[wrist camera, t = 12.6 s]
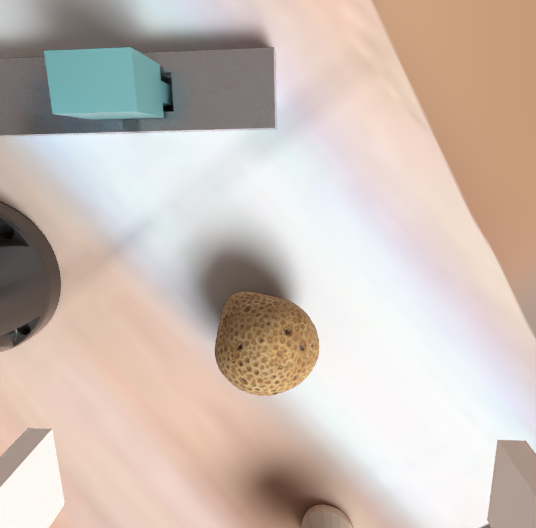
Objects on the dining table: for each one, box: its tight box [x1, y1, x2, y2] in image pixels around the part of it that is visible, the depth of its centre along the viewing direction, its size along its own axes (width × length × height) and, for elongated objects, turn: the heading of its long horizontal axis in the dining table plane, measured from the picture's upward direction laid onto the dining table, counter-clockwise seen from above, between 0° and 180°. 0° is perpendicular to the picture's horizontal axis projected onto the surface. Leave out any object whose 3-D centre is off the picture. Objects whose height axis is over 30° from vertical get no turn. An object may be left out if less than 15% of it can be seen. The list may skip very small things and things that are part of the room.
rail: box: [0, 47, 277, 136], centre depth 37 cm, size 24×6×2 cm, turn 91°
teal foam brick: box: [44, 47, 173, 120], centre depth 34 cm, size 6×4×9 cm, turn 91°
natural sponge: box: [215, 291, 319, 396], centre depth 38 cm, size 9×9×10 cm
